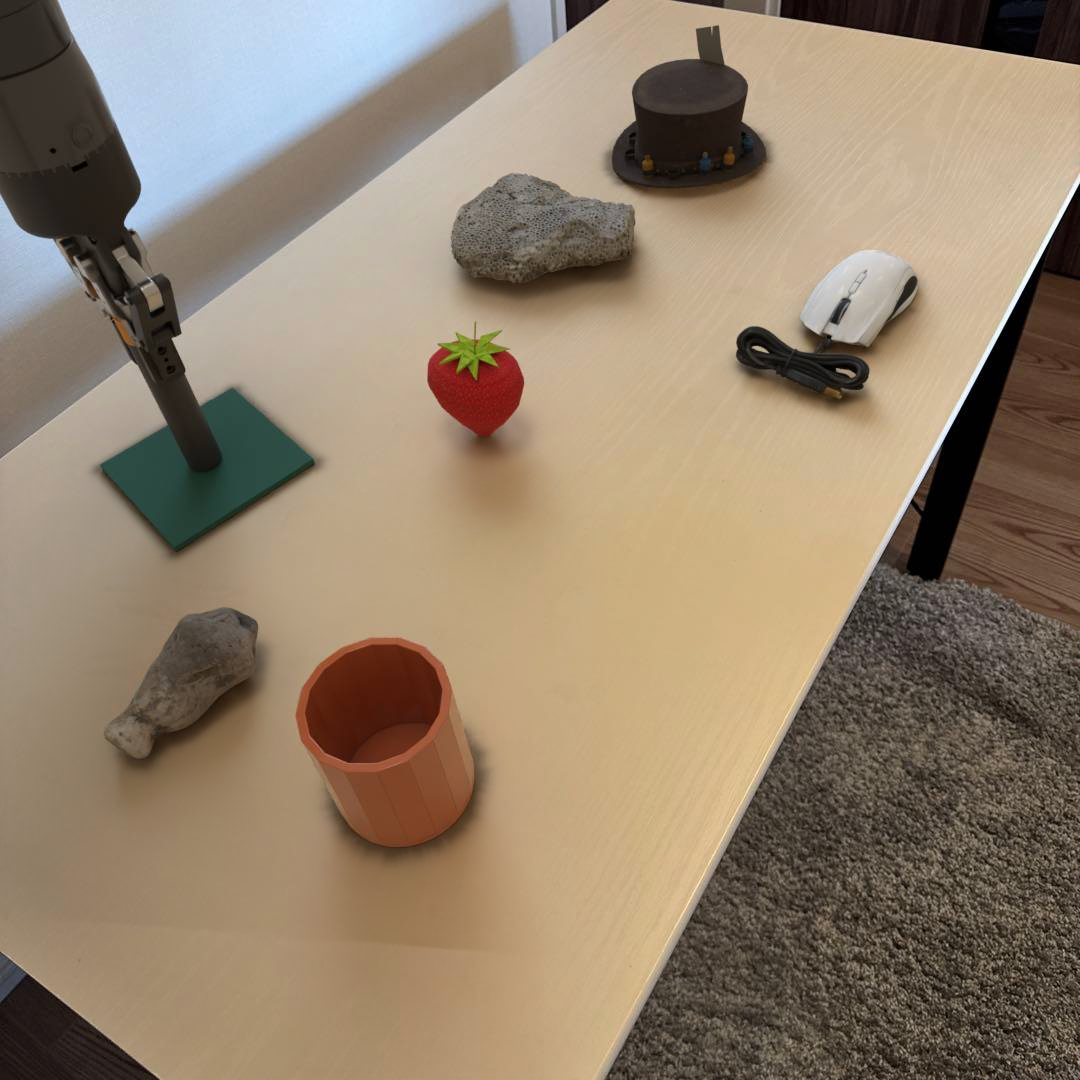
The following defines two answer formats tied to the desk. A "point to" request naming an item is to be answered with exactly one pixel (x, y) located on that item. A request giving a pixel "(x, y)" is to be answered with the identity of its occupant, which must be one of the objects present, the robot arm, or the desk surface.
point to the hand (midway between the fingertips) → (159, 367)
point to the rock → (537, 230)
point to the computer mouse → (837, 322)
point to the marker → (181, 415)
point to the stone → (187, 677)
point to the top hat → (689, 124)
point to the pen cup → (387, 740)
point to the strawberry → (476, 382)
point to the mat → (207, 471)
